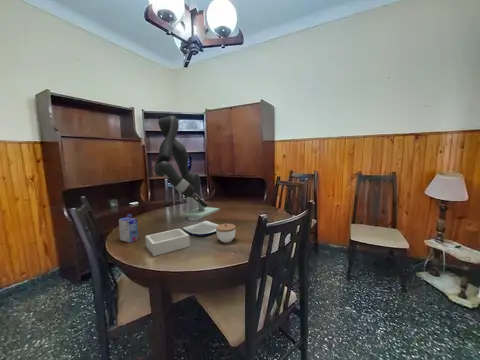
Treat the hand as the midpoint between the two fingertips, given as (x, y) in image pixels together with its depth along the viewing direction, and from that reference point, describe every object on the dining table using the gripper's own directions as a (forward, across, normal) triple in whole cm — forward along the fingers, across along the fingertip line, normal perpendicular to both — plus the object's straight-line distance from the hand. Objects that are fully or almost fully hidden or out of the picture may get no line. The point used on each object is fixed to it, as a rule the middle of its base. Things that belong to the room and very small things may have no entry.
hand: (205, 205), depth 141 cm
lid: (+1, 0, +5) cm, 5 cm away
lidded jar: (+15, -22, +7) cm, 27 cm away
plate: (+10, 0, +12) cm, 16 cm away
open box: (-6, -17, +28) cm, 33 cm away
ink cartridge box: (-20, +2, +42) cm, 47 cm away
